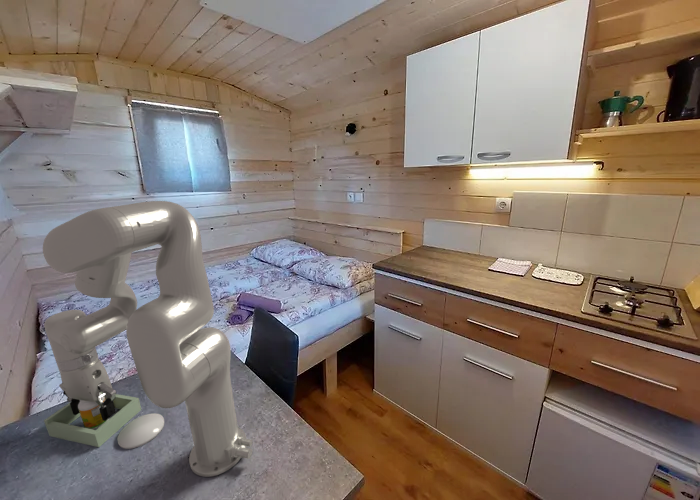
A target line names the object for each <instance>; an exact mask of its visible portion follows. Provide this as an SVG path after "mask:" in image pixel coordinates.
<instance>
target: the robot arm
mask: <svg viewBox="0 0 700 500" xmlns="http://www.w3.org/2000/svg"><path fill="white" fill-rule="evenodd" d="M156 245H159V246H161V247H160V250H159V253H158V255H157V258H156V265H155V276H156V279H157V282H158V287H159V296H158V297H157V298H154V299H153V300H151V301H147V303H145V304H143V305H141V306H139V307H138V300H137V296H136V294H135V292H134V290H133V288H132V287H131V286H130V285H129V284H128V283H127V282H126V280H127V277H128V276H127V275H128V271H129V266H130V263H131V259H132V258H131V257H132V253H134V252H137V251H138V252H139V251H141V250H145V249H147V248H151V247H154V246H156ZM42 254H43V257H44V260H45V262H47V264H48V265H49V267H51V268H52V269H53V270H54V271H56V272H59V273H64V274H71V273H76V274H75V280H74V285H75V288H76V290H77V291H78V292H79V293H81V294H83V295H85V296H87V297H90V298H98V299H110V300H109V302H108V303H109V304H108V305H107V306H105V307H103V308H101V309H98V310H96V311H94V312H91V313H90V314H86V312H84V311H83V310H81V309H69V310H63V311H60V312H57V313H55V314H53V315H51V316H49V317H47V318H46V320H45V321H44V323H43V324H44V325H43V326H44V330H45V334H46V336H47V339H48V341H49V344H50V347H51V350H52V354H53V357H54V359H55V362H56V365H57V369H58V371H59V374H60V378H61V383H59V385H58V386H59V387H60V389H61V390H62V393H63V395H64V396H66V397H67V398H66V400H67V403H70V406H71V409H72V412H73V415H77V414H78V413H80V412H79V409H78V404H79V403H80V400H83V401H89V402H96V403H97V404H98V405H99V406H100V407H101V408H100V409H99V410H100V413H101V416H102V420H103V421H106V420H107V419H110V418H111V417H112V416H114V415H115V414H116V413H117V408H115V406H114V402H113V401H114V399H115V398H116V394H117V391H116V390H115V389H114V388H113V386H112V382H111V379H110V376H109V375H108V372H107V369H106V368H105V366H104V364H103V362H102V361H101V359H100V358H99V355H98V351H97V349H96V348H97V347H98V346H100V345H101V344H103V343H105V342H107V341H108V340H111V339H112V338H114V337H116V336H117V335H120V334H121V333H123V332H125V331H126V333H125V335H126V339H127V343H128V346H129V349H130V353H131V356H132V359H133V362H134V365H135V369H136V371H137V376H138V378H139V381H140V384H141V386H142V389H143V391H144V394H145V395H146V396H147V399H149V401H150V402H151V403H153V404H154V406H157V407H159V408H161V409H173V408H175V407H178V406H180V405H181V404H182V403H184V404H185V408H186V414H187V418H188V422H189V423H188V424H189V426H190V432H191V436H192V441H193V447H192V449H191V450H190V454H189V458H188V461H189V465H190V469H191V471H192V472H193V473H194V474H195V475H197V476H200V477H206V478H208V477H209V478H210V477H215V476H218V475H221V474H224V473H225V472H227V471H229V470H230V469H232V468H233V467H235V465H237V464H238V462H240V460H241V459H247V460H249V459H251V457H252V455H253V449H252V448H251V447H252V445H253V442H254V441H253V439H249V438H247V435H246V432H245V431H244V430H243V429H241V427H239V426H238V425H239V424H238V420H237V414H236V413H237V412H236V408H235V401H234V394H233V388H232V380H231V357H232V356H231V353H232V351H231V350H232V349H231V343H230V341H229V338H228V336H227V335H226V334H225V333H224V332H223V331H222V330H220V329H218V328H216V327H210V326H209V327H205V326H206V325H207V324H208V323H209V322H210V321H211V320H212V319H213V316H214V314H215V313H214V311H215V308H214V302H213V297H212V291H211V288H210V284H209V279H208V275H207V271H206V266H205V262H204V256H203V246H202V236H201V231H200V227H199V225H198V223H197V220H196V219H195V217H194V216H193V215H192V213H191V212H190V211H189V210H188V209H186V208H185V207H184V206H183V205H180V204H178V203H176V202H172V201H167V200H166V201H165V200H151V201H150V200H149V201H143V202H142V201H141V202H136V203H135V202H134V203H130V204H123V205H116V206H108V207H102V208H96V209H92V210H89V211H86V212H84V213H81V214H78V216H76V217H73V218H72V219H70V220H68V221H65V222H63V223H62V224H60V225H57V226H56V227H54V228H52V229H51V230H50V231H49V232H48V233H47V234H46V236H45V238H44V240H43V243H42ZM100 392H102V393H103V394H101V395H100V396H99V393H100ZM98 396H99V397H98ZM103 396H105V397H106V398H107V399H106V400H105V401H104V402H103V401H102V400H101V399H100V398H102V397H103ZM248 447H249V448H248Z"/></svg>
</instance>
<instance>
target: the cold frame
mask: <svg viewBox="0 0 700 500" xmlns="http://www.w3.org/2000/svg"><path fill="white" fill-rule="evenodd" d="M100 393H101V394H103V393H102V392H100ZM104 397H105V396H104ZM106 399H107V398H106V397H105V400H106ZM113 402H114V406H115V409H117V410H118V409H119V411H116V413H115V414H113V415H112V416H111V417H110V418H109V420H108V421H106V422H105V423H104V424H103V425H102V426H100V427H99V428H97V429H94V430H92V429H88V428H85V427H84V426H77V425H73V424H72V423H73V422H75V420H77V419H78V418H80V417H81V415H80V413H78V414H77V415H73V412H72V409H71V406H70V402H67V404H65V405H64V406H62V407H61V408H60V409H58V410H56V411H55V412H54V413H52V414H51V415H50V416H48V417H47V418H45V419H43V422H44V425H45V427H46V430H47V434H48V436H49V437H52V438H57V439H60V440H65V441H69V442H75V443H78V444H82V445H87V446H92V447H95V448H100V447H101V446H102V445H104V444H105V442H107V441H108V440H109V439H110V438H112V436H114V435H115V434H116V433H117V432H118V431H119V430H120V429H121V428H124V427H125V426H126V425H127V424H128V423H129V422H130V421H131V419H133V418H135V416H137V414H138V413H140V412H141V411H142V407H141V402H140V397H135V396H129V395H124V394H118V393H116V398H115V399H114V401H113ZM123 426H124V427H123Z"/></svg>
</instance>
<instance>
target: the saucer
mask: <svg viewBox="0 0 700 500" xmlns="http://www.w3.org/2000/svg"><path fill="white" fill-rule="evenodd" d="M164 427H165V418H164V417H163V415H162V414H160V413H148V414H143V415H140V416H138V417H136V418H134V419H133V420H130V421H129V422H127V423H126V424H125V425H124V427H122V429H121V430H120V432H119V433H118V435H117V444H118V446H119V447H120V448H122V449H124V450H125V449H126V450H131V449H136V448H140V447H142V446H144V445H146V444H148V443H150V442H151V441H153V440H154V439H155V438H156V437H158V436H159V434H160V433H162V431H163V429H164Z"/></svg>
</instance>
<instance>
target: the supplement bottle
mask: <svg viewBox="0 0 700 500" xmlns="http://www.w3.org/2000/svg"><path fill="white" fill-rule="evenodd" d="M100 395H101V393H99V396H100ZM99 396H98V397H99ZM100 399H101V400H102V401H103V402H104V401H105V397H104V396H103V397H102V398H100ZM100 408H101V407H100V406H99V405H98V404H97V403H96V402H89V401H83V400H80V403H79V404H78V409H79V412H80V415H81V416H80V417H81V421H82V424H83V428H88V429H92V430H97V429H98V428H99V427H100V426H102V425H103V424H104V423H105V422H106V421H108V420H109V419H110V418H109V419H107V420H106V421H103V420H102V416H101V413H100V410H99V409H100Z"/></svg>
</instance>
